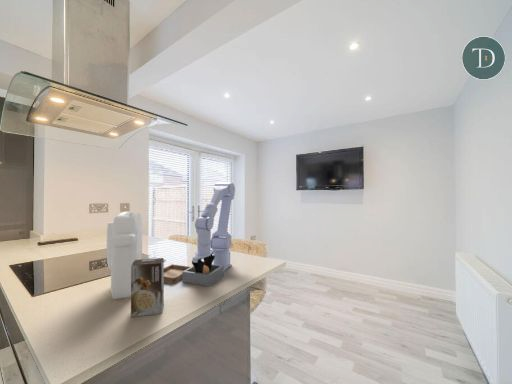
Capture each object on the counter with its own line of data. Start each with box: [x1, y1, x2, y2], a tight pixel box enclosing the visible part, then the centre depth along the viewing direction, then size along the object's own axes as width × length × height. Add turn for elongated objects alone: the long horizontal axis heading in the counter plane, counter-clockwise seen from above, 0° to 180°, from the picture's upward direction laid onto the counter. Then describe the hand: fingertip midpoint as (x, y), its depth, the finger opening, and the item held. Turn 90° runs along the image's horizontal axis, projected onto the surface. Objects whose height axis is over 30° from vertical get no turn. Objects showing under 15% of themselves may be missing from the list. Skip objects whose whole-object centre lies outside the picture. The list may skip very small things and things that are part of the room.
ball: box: [203, 265, 209, 274], centre depth 101 cm, size 5×5×5 cm
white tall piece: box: [106, 211, 143, 300], centre depth 90 cm, size 27×11×30 cm, turn 21°
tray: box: [164, 264, 191, 285], centre depth 104 cm, size 15×13×2 cm
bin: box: [181, 263, 224, 287], centre depth 101 cm, size 13×13×4 cm
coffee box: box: [130, 257, 165, 318], centre depth 73 cm, size 9×6×16 cm
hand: (203, 274), depth 101 cm, fingers open, 6 cm apart
